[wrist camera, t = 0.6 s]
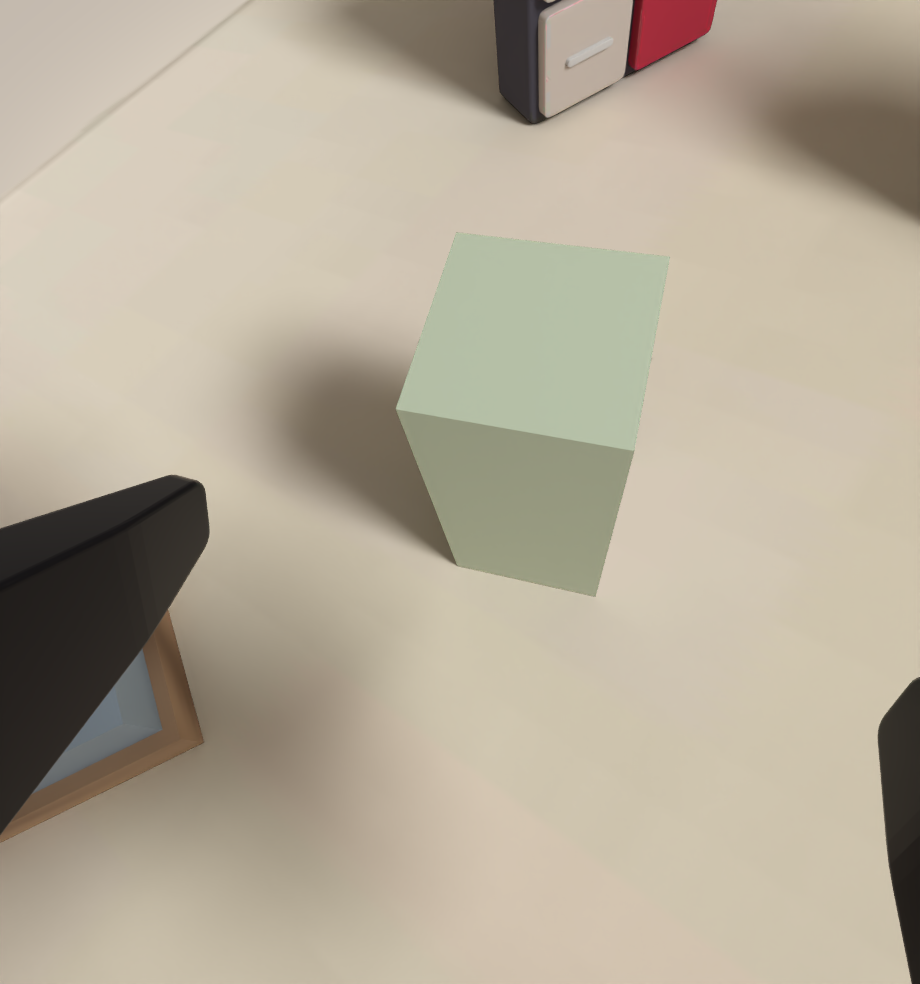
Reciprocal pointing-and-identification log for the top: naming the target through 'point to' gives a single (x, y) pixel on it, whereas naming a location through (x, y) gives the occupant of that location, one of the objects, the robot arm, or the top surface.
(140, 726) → the slate top block
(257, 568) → the top surface
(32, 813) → the walnut base block
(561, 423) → the sage block
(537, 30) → the calculator
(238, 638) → the top surface
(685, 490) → the top surface
